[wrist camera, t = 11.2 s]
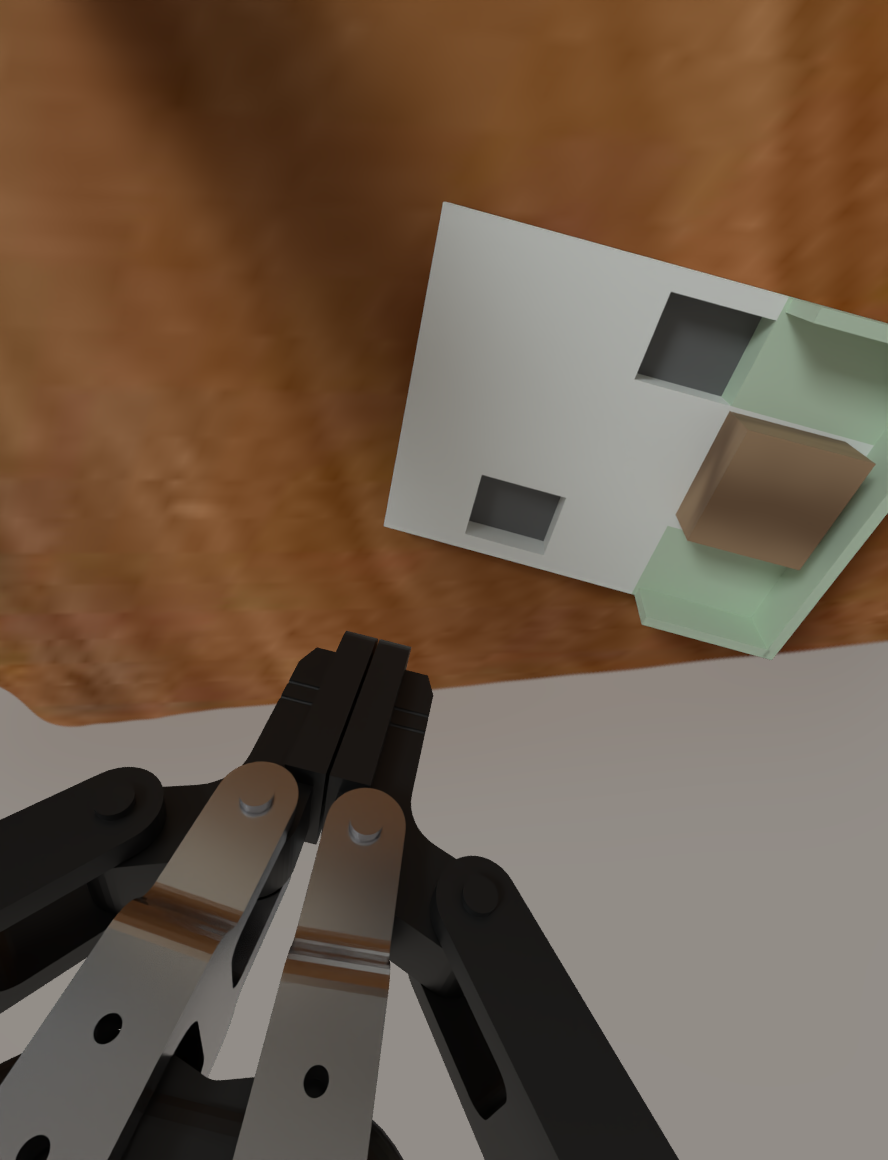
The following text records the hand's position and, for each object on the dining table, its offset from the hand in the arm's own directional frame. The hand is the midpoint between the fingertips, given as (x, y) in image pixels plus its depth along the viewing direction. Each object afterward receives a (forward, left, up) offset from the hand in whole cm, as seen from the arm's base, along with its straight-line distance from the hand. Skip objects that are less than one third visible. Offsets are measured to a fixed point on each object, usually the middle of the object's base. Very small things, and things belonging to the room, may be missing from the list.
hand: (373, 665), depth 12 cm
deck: (0, +9, -22) cm, 24 cm away
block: (0, +16, -20) cm, 26 cm away
